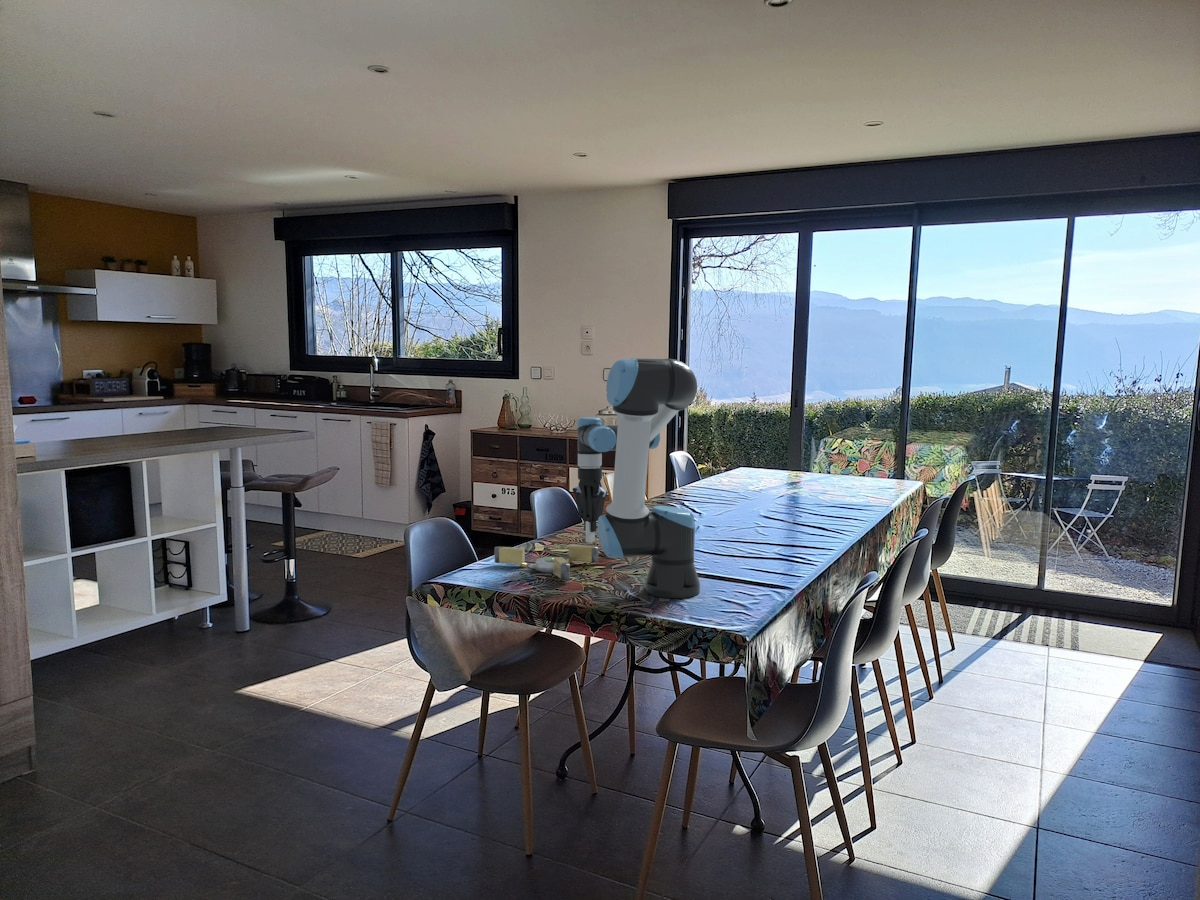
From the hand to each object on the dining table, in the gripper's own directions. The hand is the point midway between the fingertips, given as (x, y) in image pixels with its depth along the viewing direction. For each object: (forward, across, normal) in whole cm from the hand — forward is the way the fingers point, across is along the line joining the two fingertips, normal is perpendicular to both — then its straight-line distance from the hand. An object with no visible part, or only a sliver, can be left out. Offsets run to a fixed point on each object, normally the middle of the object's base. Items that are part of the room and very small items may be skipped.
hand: (590, 541), depth 250 cm
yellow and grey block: (+6, +15, +20) cm, 26 cm away
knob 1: (+7, -7, +20) cm, 22 cm away
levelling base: (+7, +4, +14) cm, 16 cm away
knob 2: (+6, 0, +3) cm, 7 cm away
